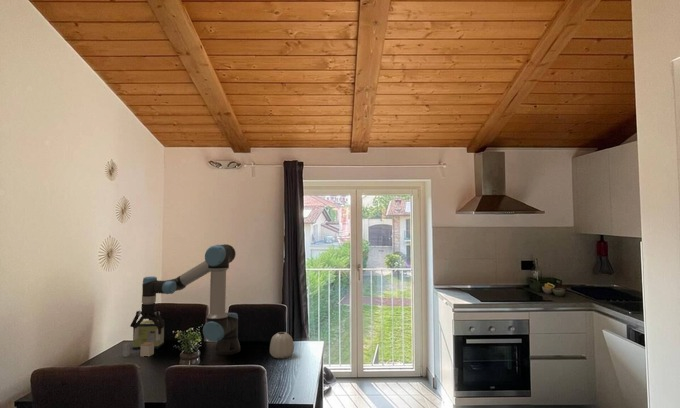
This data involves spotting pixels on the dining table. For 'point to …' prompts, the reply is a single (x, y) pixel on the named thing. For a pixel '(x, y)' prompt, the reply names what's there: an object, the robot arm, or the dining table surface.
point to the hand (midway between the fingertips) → (147, 339)
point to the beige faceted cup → (147, 349)
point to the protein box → (148, 335)
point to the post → (126, 350)
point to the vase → (281, 345)
